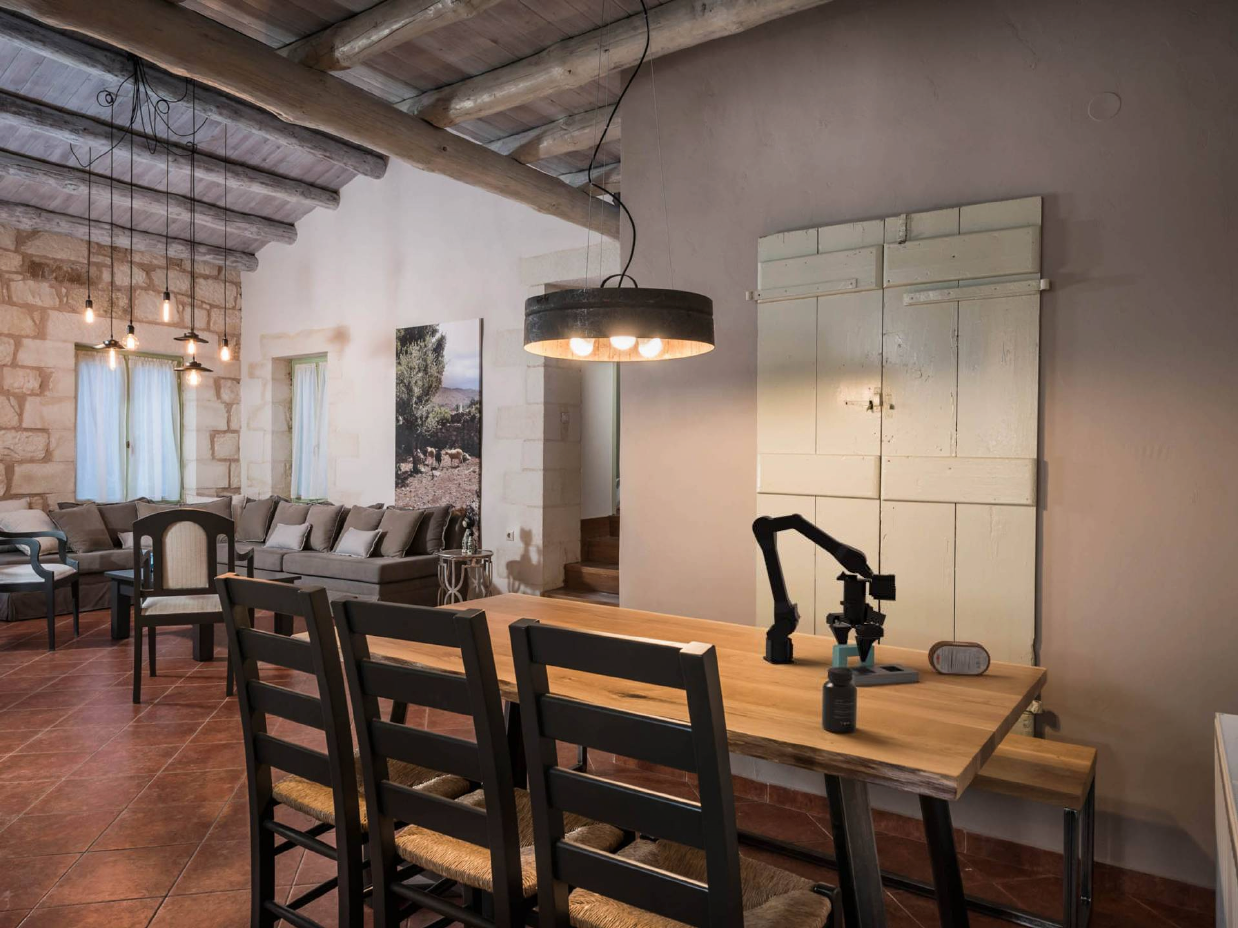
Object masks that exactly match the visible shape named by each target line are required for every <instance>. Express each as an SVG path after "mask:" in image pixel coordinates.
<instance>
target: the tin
mask: <svg viewBox="0 0 1238 928" xmlns="http://www.w3.org/2000/svg"><path fill="white" fill-rule="evenodd" d="M927 659H928V660H927V661H928V663H929V665H930V666H931V668H933V669H934V670H935V671H936V672H937V673H939V674H941V675H948V676H965V677H966V676H967V677H968V676H969V677H978V676H981V675H983V674H985V673H986V672H987V671H988V670H989V668H990V666H991V655H990V653H989V652H988V650H987V649H986V648H985V647H984V646H983V644H981V643H978V642H975V641H974V642H973V641H955V640H940V641H937V642H935V643H934V644H933V645H931V647H930V648H929V651H928V654H927Z"/></svg>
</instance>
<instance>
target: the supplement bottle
mask: <svg viewBox="0 0 1238 928" xmlns="http://www.w3.org/2000/svg"><path fill="white" fill-rule="evenodd" d="M826 677H827V679H828V680H826V681H824V683H823V685H822V691H821V695H822V696H821V700H822V701H821V726H822V728H823V729H824V730H826V731H828V732H830V733H833V734H841V735H845V734H852V733H854V732H855V731H856V730H857V720H858V719H857V716H858V715H857V714H858V711H857V710H858V688H857V686H855V685H854V684H853V683H851V681H852V680H853V677H852V670H850V669H847V668H842V667H829V668H828V669H827V676H826Z"/></svg>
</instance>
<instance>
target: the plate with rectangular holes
mask: <svg viewBox="0 0 1238 928" xmlns="http://www.w3.org/2000/svg"><path fill="white" fill-rule="evenodd" d="M842 668H847V669H850V670H852V677H853V680H852V681H851V683H853V684H854V685H855V686H856V687H865V686H866V687H867V686H881V685H883V686H884V685H895V684H896V685H897V684H909V683H910V684H912V683H919V682H920V671H918V670H915V669H913V668H910V667H907V666H905V665H903V664H901V663H892V664H876V665H875V664H874V665H871V666H859V665H858V666H857V665H856V666H847V667H842Z"/></svg>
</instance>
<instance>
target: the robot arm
mask: <svg viewBox="0 0 1238 928" xmlns="http://www.w3.org/2000/svg"><path fill="white" fill-rule="evenodd" d="M788 530H794V531H796V532H798V533H799V534H801V535H802V536H804V537H805V538H806V539H808V540H809V541H811V542H813V543H814V544H816V545H817V546H818V547H820V548H821V549H823V550H825V552H827V553H829V554H830V556H832V557H833V558H834V559H835V560H836V562H838V563H839V564H840V565H841V566H842V567H843V568H844V569H845V570H846V571H847V572H848V573H849V574H848V573H846V572H845V571H844V570H842V571H841V573H840V574H838V575H837V576H836V578H835V579H836V581H839V582H843V593H842V594H843V595H842V596H843V597H842V599H843V600H839V605H840V606H842V612H828V614H826V616H825V624H827V625H828V628H830V630H831V633H832V634H833V637H834V639H835V641H836V644H837V645H846V644H849V643H848V640H849V633H850V632H851V630H852V629H854V632H855V635H854V639H855V644H857V648H858V652H859V656H860V660H861V662H866V659H867V656H868V654H869V651H870V649H871V646H872V645H873V644H874V643H876V641H878V640H880V639H882V638H884V637H885V629H884V628H883V627H884V624H885V621H886V618H887V614H884V613H882V612H879V611H877V610H874V607H873V606H872V605H871V604H870V603H869V602H867V583H868V595H869V596H870V597H872V600H874V601H889V602H890V601H891V602H896V601H897V600H896V598H897V597H896V596H897V586H896V574H895V573H893V574H891V573H890V574H889V573H888V574H880V573H875V572H874V571H873V569H872V568H871V567H870V566H869V564H868V563H867V562H868V558H867V555H866V554H865V552H863V551H862V550H860V549H858V548H856V547H853V546H851V545H849V544H846V543H844V542H841V541H839V540H838V539H836V538H834V537H833V536H832V535H830V534H829V533H827V532H825V531H824V530H822V529H821V528H820V527H819V526H817V525H815V524H814V523H812V522H810V521H809V520H807V519H806V518H804V517H803V515H802V514H800V513H792V514H789V515H782V516H776V517H772V516H770V515H761V516H759V517H758V518H756V519H755V520H754V521H753V523H752V524H751V531H752V532H753V535H754V537H755V540H756V542H757V544H758V545H759V548H760V549H761V551H762V555H763V560H764V565H765V567H766V573H767V577H768V581H769V586H770V590H771V594H772V598H773V619H774V620H773V621H774V622H773V624H771V626H770V627H769V628H768V630H767V631H766V633H765V635H766V636H765V655H763V656H762V659H763V660H765V659H766V660H765V661H768V662H769V663H771V664H773V665H775V664H776V665H778V664H792V663H795V659H794V644H793V638H791V637H789V636H790V635H792V634H794V633H795V631H796V630H797V628H798V626H799V623H800V619H801V617H802V616H801V615H800V613H799V610H798V609H799V608H798V602H796V603H792V601H791V599H790V597H789V593H788V589H787V586H786V585H787V584H786V581H785V576H784V572H783V567H782V563H781V559H780V555H779V551H778V532H779V533H780V532H783V531H788ZM858 576H861V577H858ZM859 656H858V657H859Z"/></svg>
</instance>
